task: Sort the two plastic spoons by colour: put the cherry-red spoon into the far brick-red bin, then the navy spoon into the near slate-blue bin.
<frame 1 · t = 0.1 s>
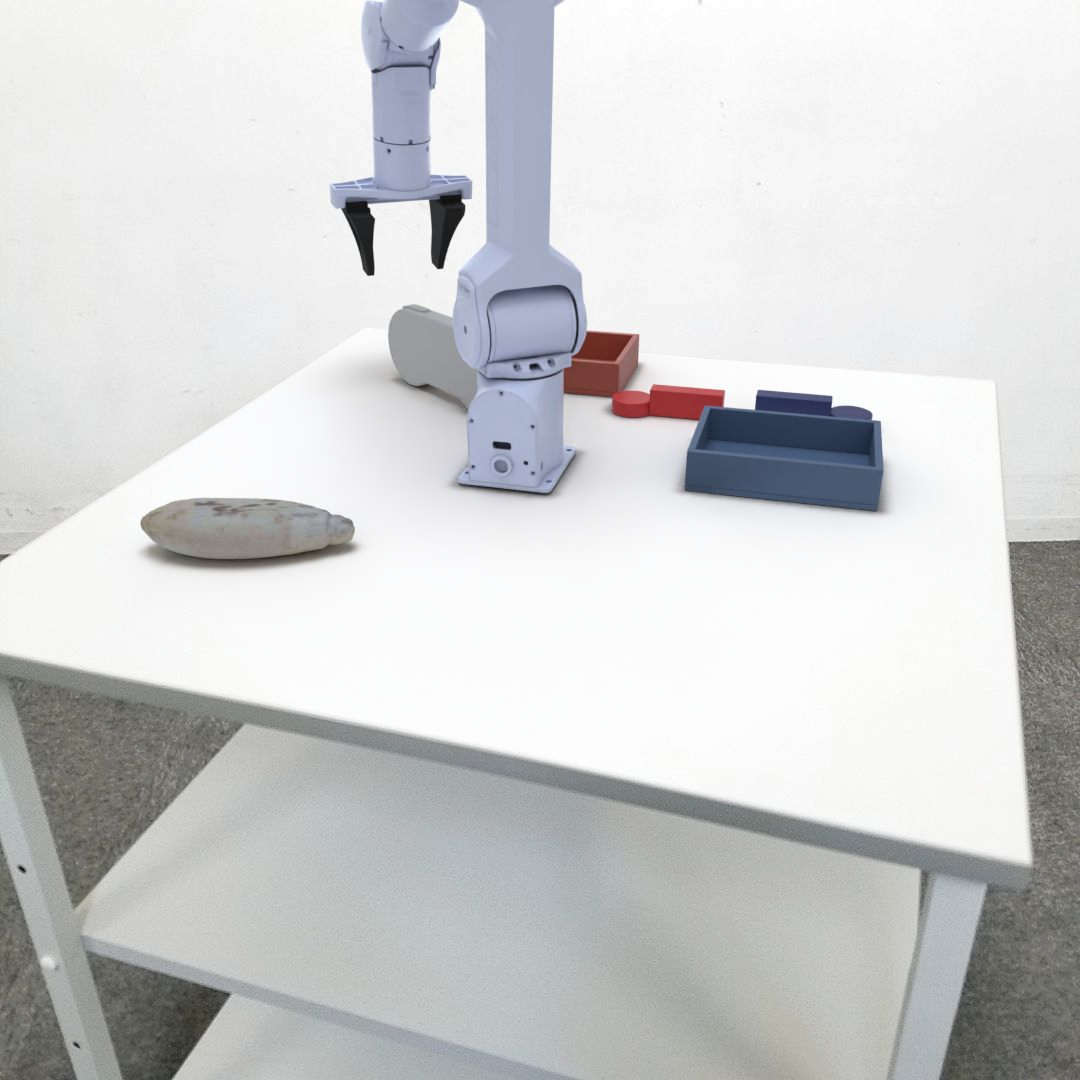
hand: (403, 269, 110), 11 cm above the table, tool pointing down, fingers open, 7 cm apart
red bin: (559, 374, 112), on the table
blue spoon: (791, 421, 99), on the table
decorative stone: (250, 550, 76), on the table
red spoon: (685, 415, 101), on the table
blue bin: (782, 473, 88), on the table
game controller: (449, 399, 105), on the table
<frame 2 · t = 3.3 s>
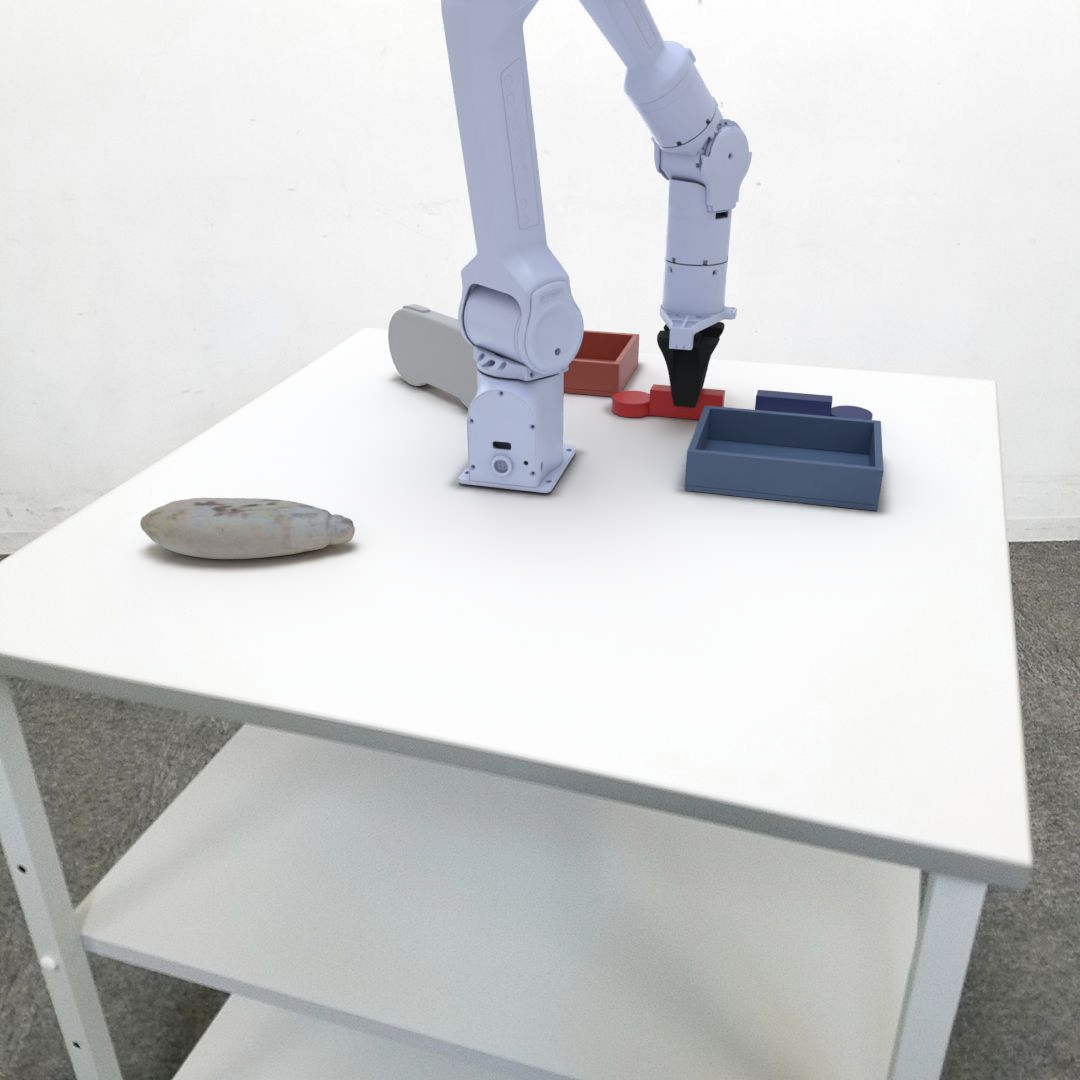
hand: (686, 401, 100), 1 cm above the table, tool pointing down, fingers closed on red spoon, 2 cm apart
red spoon: (685, 415, 101), on the table, touching gripper
everything else where it was.
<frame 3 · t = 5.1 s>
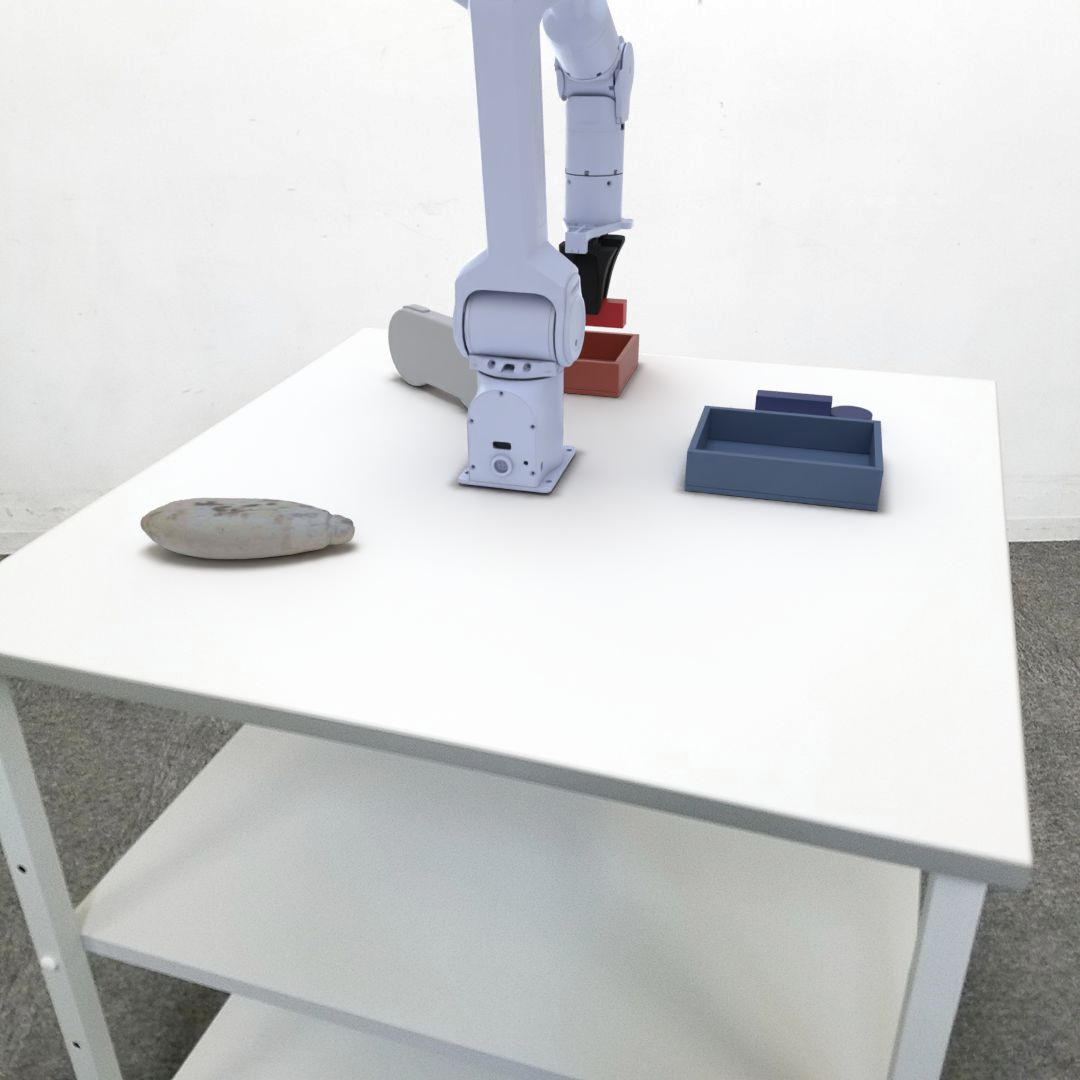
hand: (591, 310, 107), 7 cm above the table, tool pointing down, fingers closed on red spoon
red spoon: (591, 324, 107), point 6 cm above the table, touching gripper
everything else where it was.
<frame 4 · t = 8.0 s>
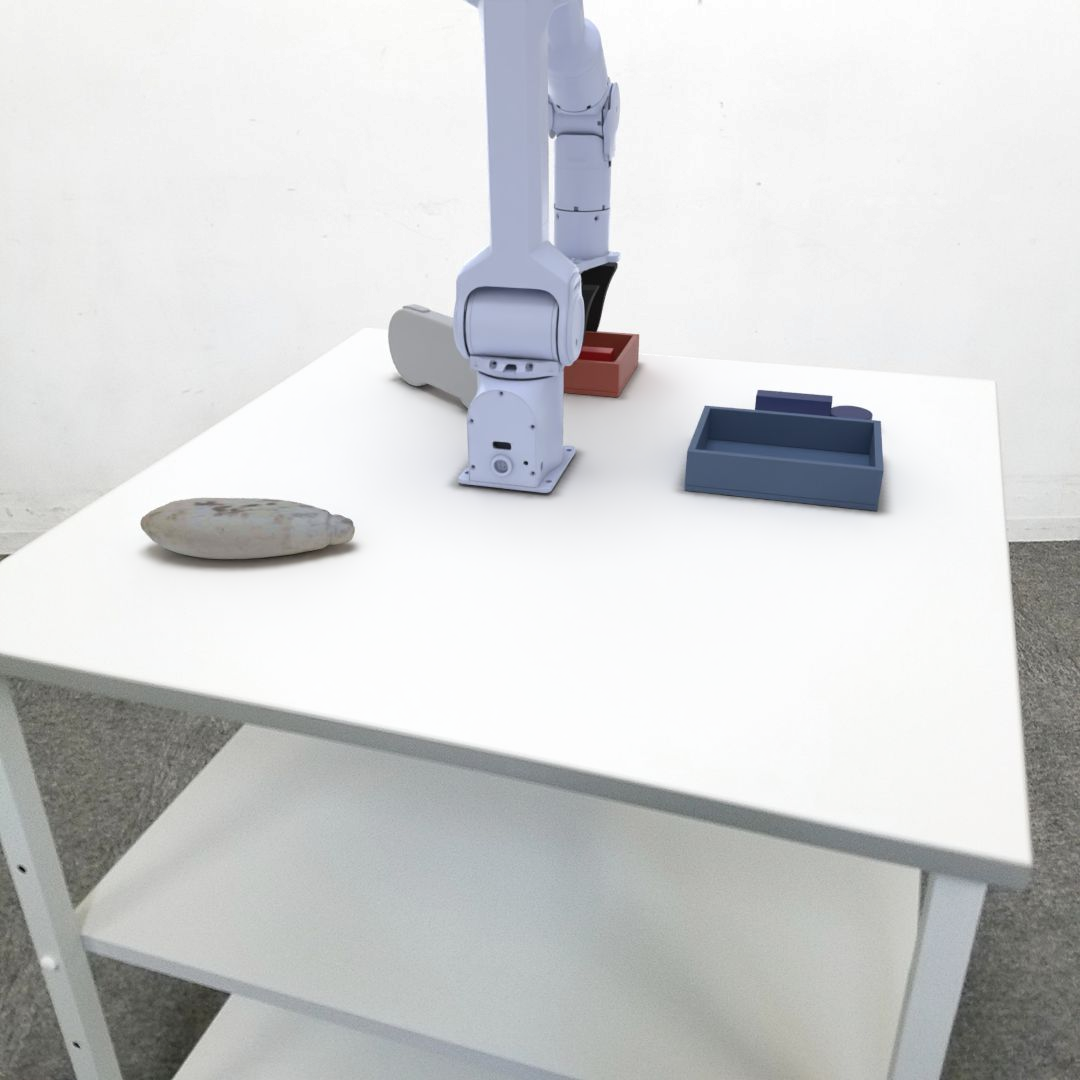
hand: (579, 340, 109), 4 cm above the table, tool pointing down, fingers open, 7 cm apart
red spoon: (579, 371, 111), resting on red bin
everything else where it was.
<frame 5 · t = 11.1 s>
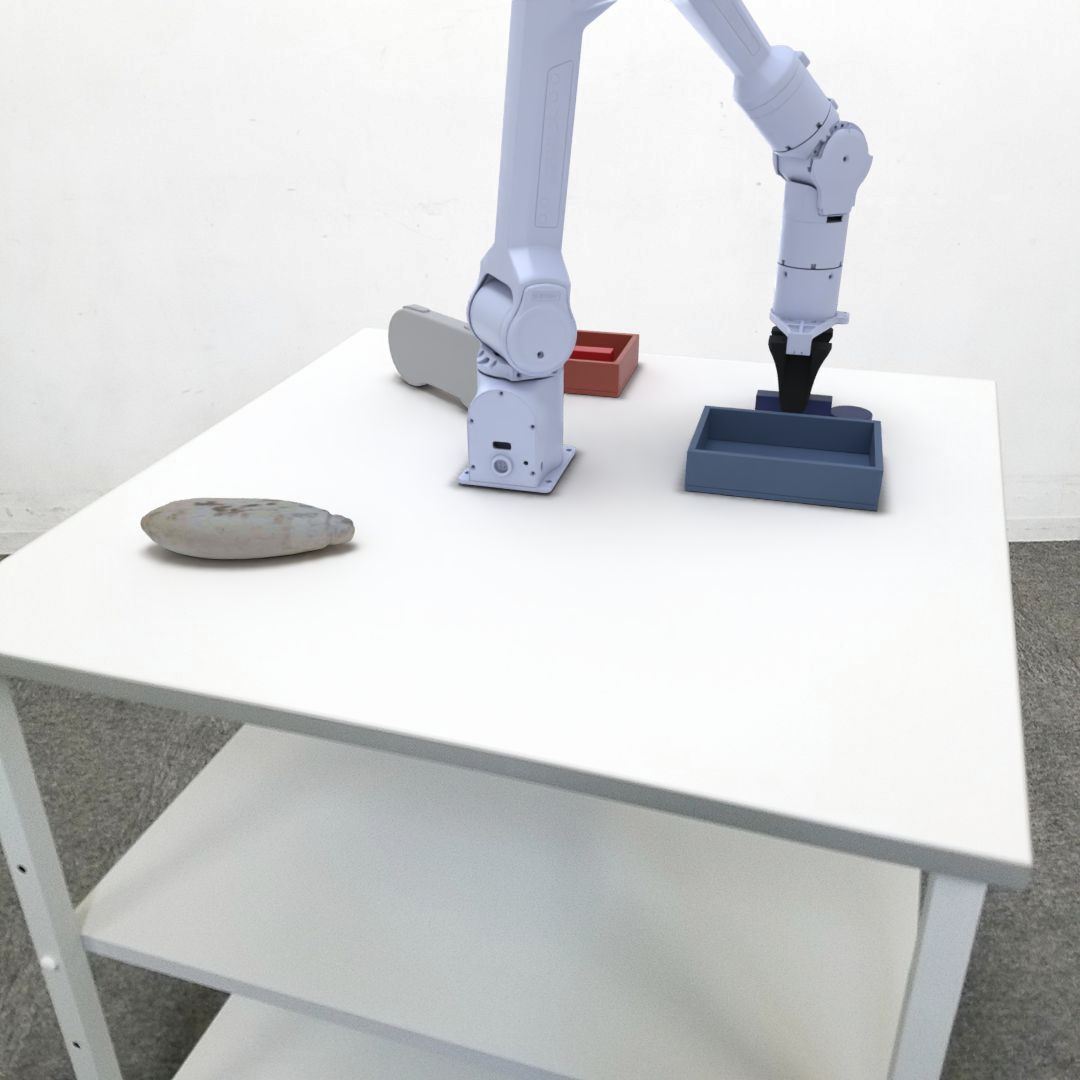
hand: (793, 407, 98), 1 cm above the table, tool pointing down, fingers closed on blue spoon, 2 cm apart
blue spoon: (791, 421, 99), on the table, touching gripper
everything else where it was.
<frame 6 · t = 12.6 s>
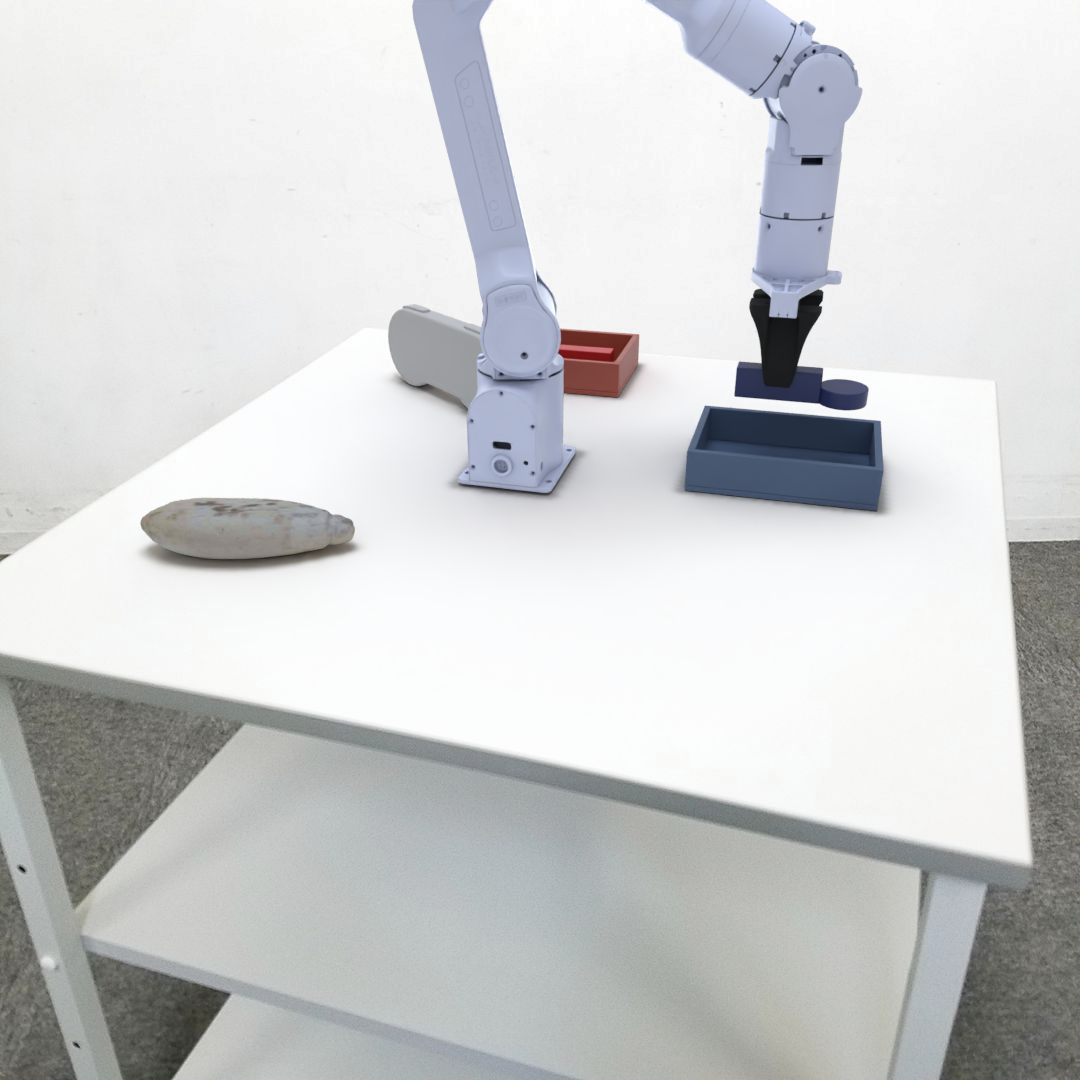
hand: (778, 381, 87), 7 cm above the table, tool pointing down, fingers closed on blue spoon
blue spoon: (776, 397, 87), point 6 cm above the table, touching gripper
everything else where it was.
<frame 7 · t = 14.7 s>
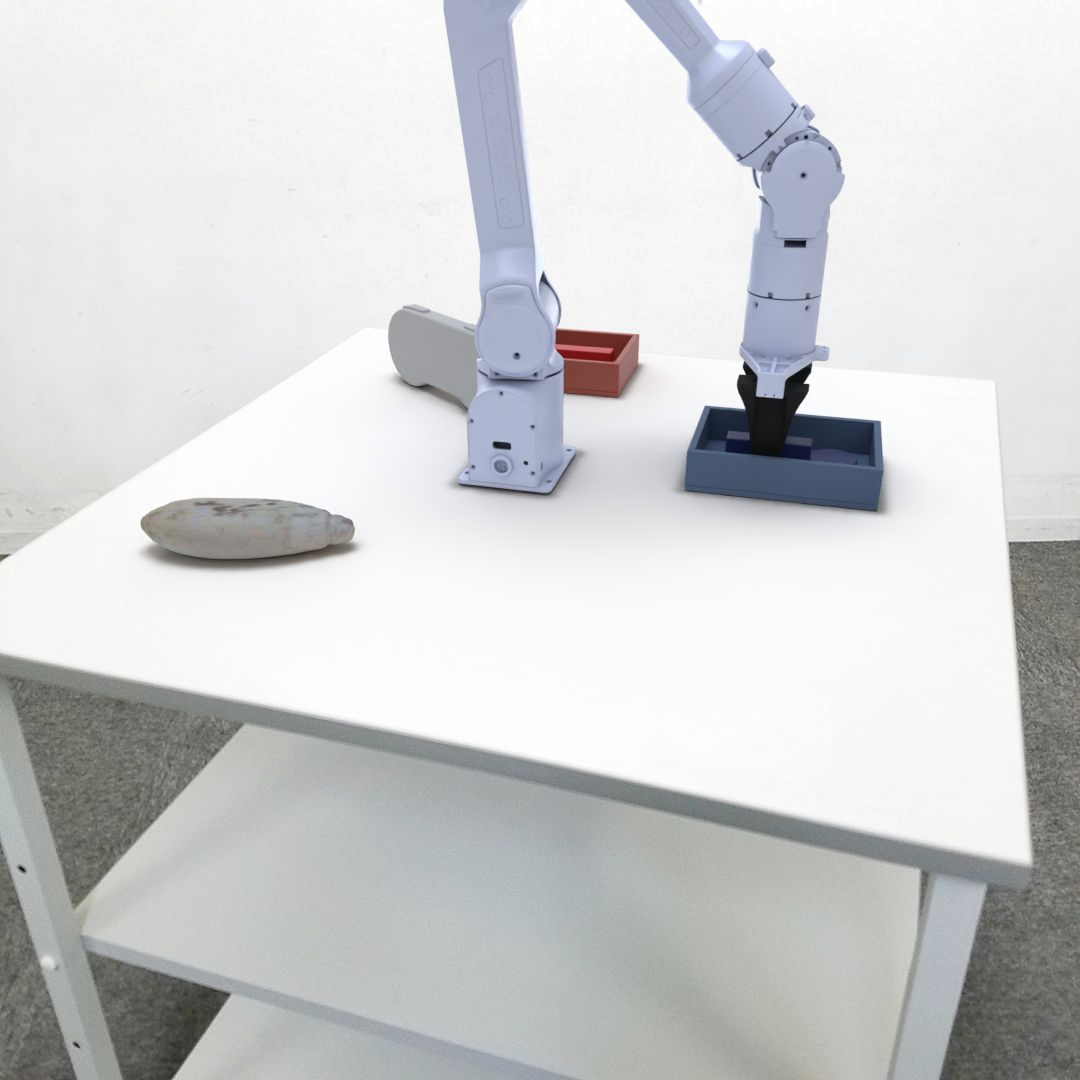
hand: (767, 452, 87), 2 cm above the table, tool pointing down, fingers open, 3 cm apart
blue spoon: (766, 466, 88), resting on blue bin
everything else where it was.
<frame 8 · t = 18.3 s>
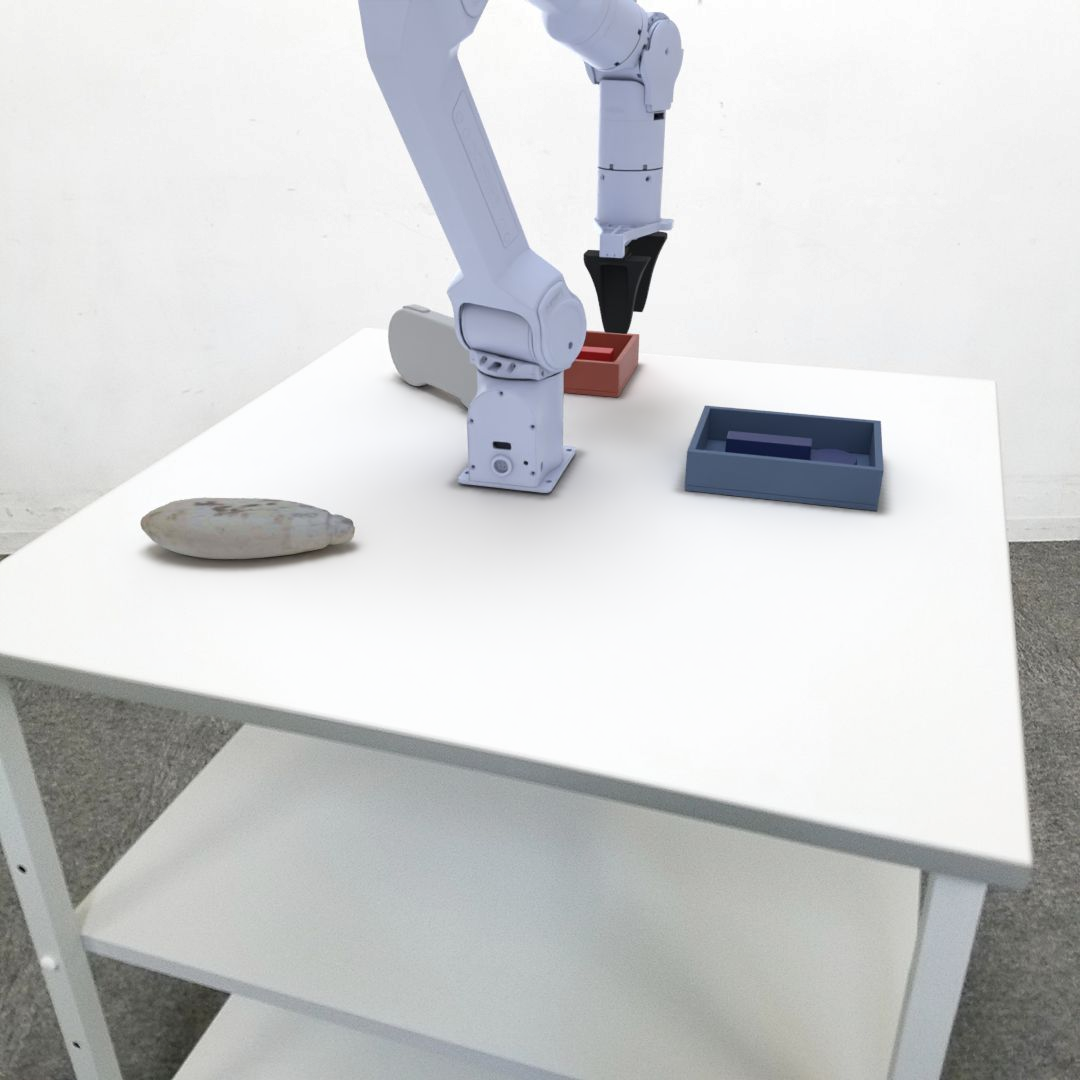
hand: (624, 321, 96), 9 cm above the table, tool pointing down, fingers open, 7 cm apart
nothing on the table moved.
at the end: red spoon inside the target area in the red bin (1.5 cm from its centre), point 0.5 cm above the red bin's base; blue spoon inside the target area in the blue bin (0.6 cm from its centre), point 0.5 cm above the blue bin's base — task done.
